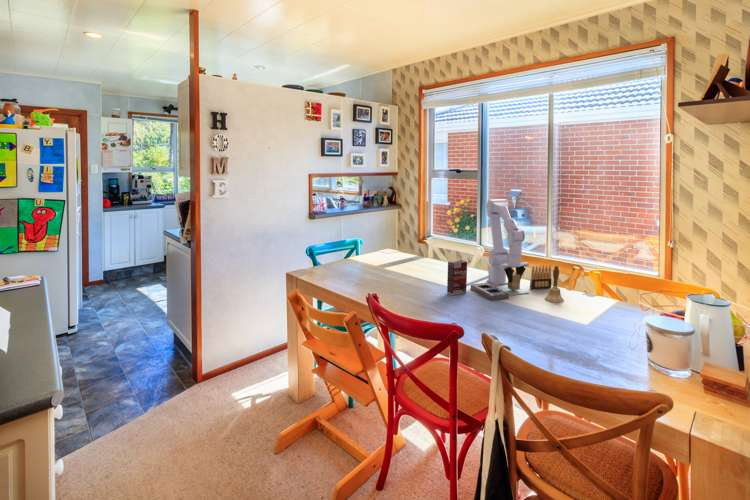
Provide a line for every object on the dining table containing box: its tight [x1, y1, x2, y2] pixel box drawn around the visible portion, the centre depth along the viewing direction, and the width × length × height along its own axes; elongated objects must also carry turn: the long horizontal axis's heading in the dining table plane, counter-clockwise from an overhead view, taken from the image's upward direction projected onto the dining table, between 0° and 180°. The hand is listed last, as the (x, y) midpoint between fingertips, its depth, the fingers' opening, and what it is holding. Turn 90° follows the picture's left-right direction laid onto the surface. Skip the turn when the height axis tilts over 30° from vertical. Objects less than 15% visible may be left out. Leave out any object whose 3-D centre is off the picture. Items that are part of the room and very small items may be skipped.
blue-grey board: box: [500, 287, 529, 297], centre depth 206 cm, size 10×10×1 cm
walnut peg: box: [507, 272, 521, 290], centre depth 205 cm, size 4×4×8 cm
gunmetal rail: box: [470, 282, 510, 302], centre depth 203 cm, size 20×9×2 cm, turn 15°
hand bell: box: [543, 265, 565, 304], centre depth 191 cm, size 8×8×16 cm
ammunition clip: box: [529, 264, 552, 291], centre depth 209 cm, size 11×2×12 cm, turn 98°
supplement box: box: [446, 259, 468, 296], centre depth 204 cm, size 9×5×16 cm, turn 117°
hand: (514, 281), depth 205 cm, fingers closed on walnut peg, 4 cm apart
